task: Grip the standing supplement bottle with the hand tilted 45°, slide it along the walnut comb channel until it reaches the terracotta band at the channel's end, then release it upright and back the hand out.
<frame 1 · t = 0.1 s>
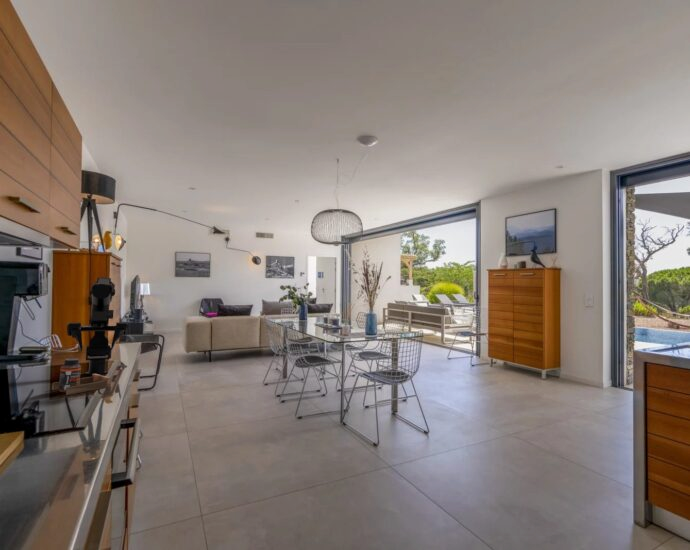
hand: (96, 350, 132), 15 cm above the counter, tool tilted 35°, fingers open, 9 cm apart
supplement bottle: (68, 391, 131), on the counter
comb channel: (79, 388, 134), on the counter
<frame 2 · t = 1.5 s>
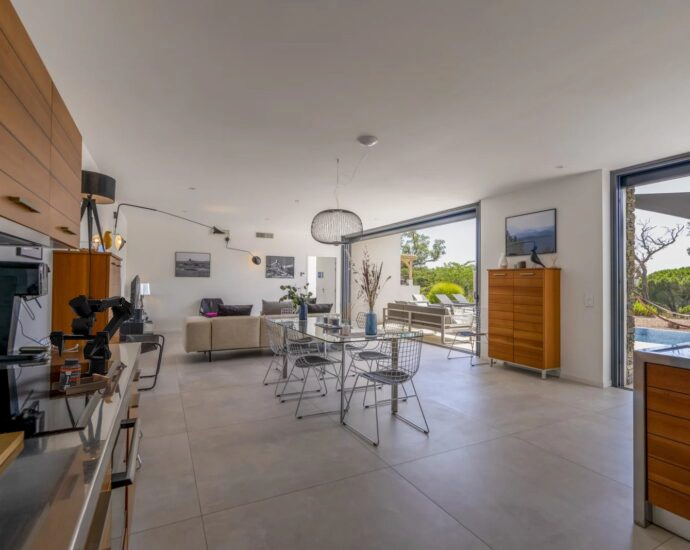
hand: (74, 356, 136), 12 cm above the counter, tool tilted 45°, fingers open, 9 cm apart
nothing on the counter moved.
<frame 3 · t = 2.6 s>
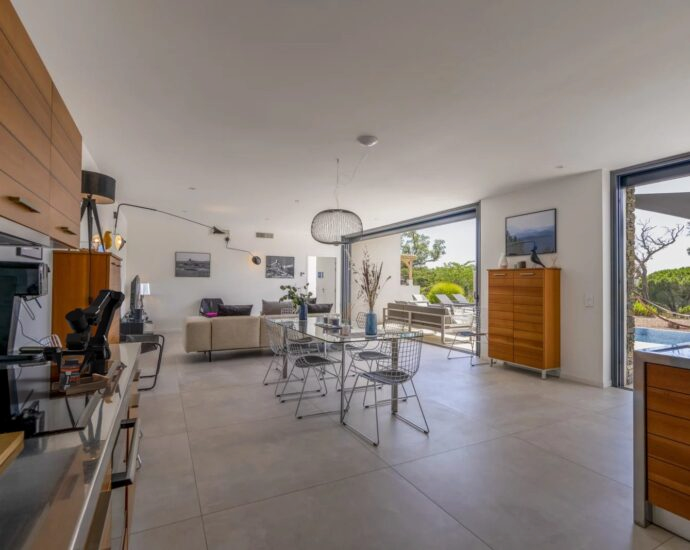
hand: (69, 373, 130), 7 cm above the counter, tool tilted 45°, fingers closed on supplement bottle, 6 cm apart
supplement bottle: (68, 391, 131), on the counter, touching gripper
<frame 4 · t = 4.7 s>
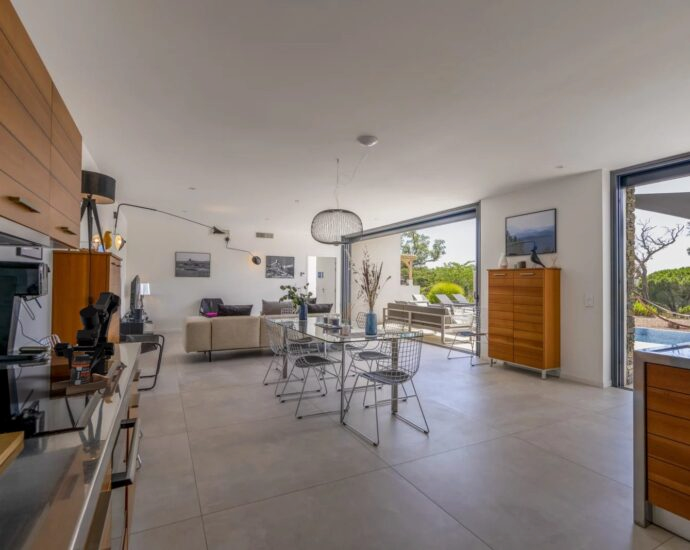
hand: (80, 368, 134), 8 cm above the counter, tool tilted 45°, fingers closed on supplement bottle, 6 cm apart
supplement bottle: (79, 386, 135), point 1 cm above the counter, touching gripper
when the fingers open (7 cm above the counter, at t = 6.6 s): supplement bottle stays where it is, on the counter.
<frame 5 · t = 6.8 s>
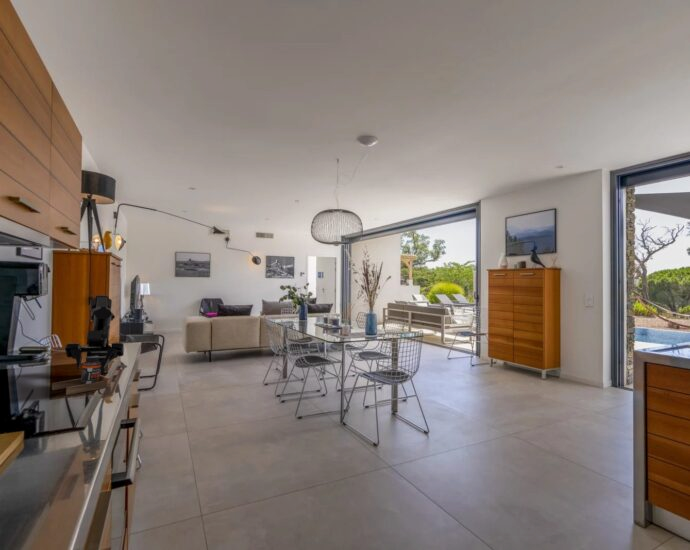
hand: (90, 368, 136), 7 cm above the counter, tool tilted 45°, fingers open, 8 cm apart
supplement bottle: (90, 387, 138), on the counter
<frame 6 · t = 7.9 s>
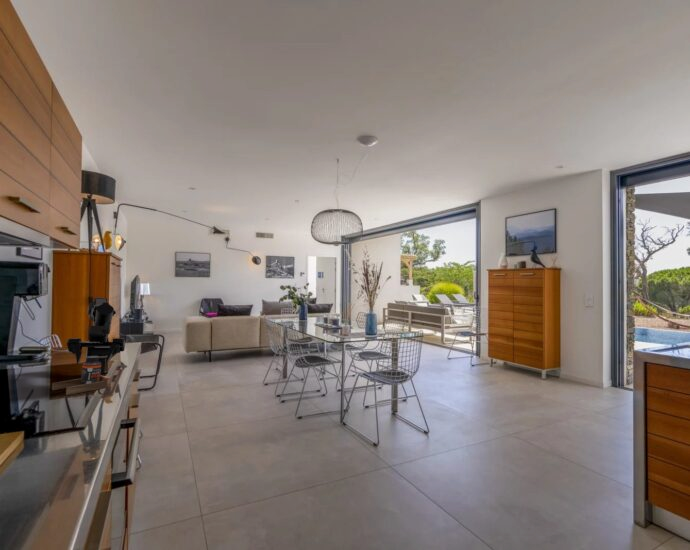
hand: (92, 363, 138), 9 cm above the counter, tool tilted 45°, fingers open, 9 cm apart
nothing on the counter moved.
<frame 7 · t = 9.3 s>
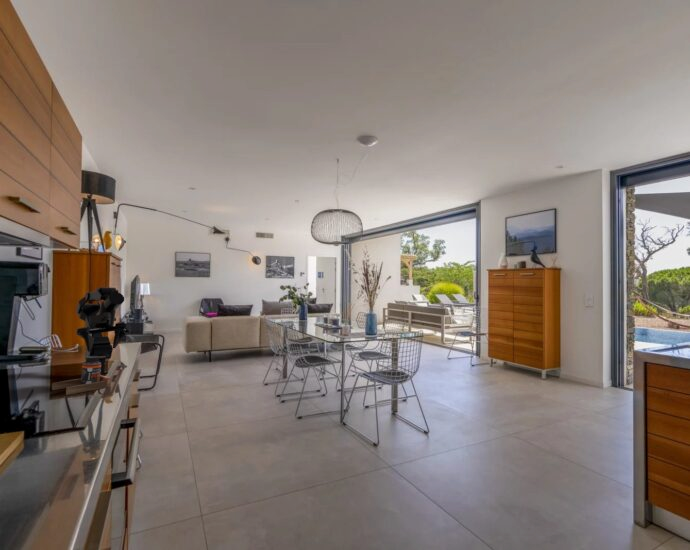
hand: (101, 349, 145), 13 cm above the counter, tool tilted 30°, fingers open, 9 cm apart
nothing on the counter moved.
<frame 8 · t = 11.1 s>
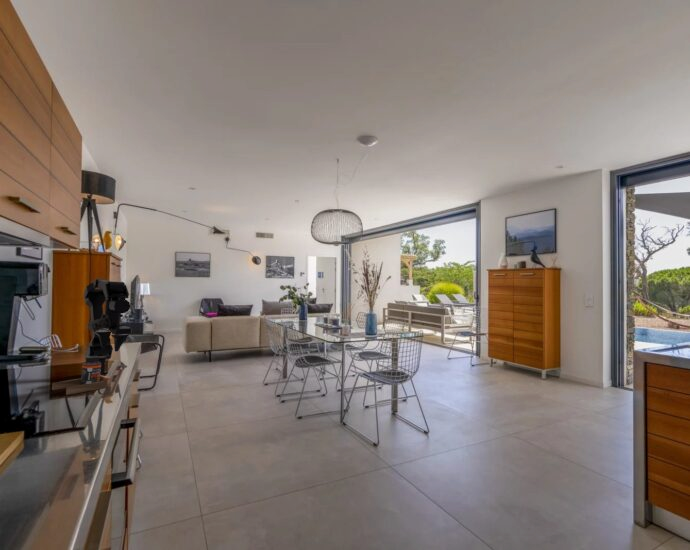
hand: (109, 350, 149), 12 cm above the counter, tool pointing down, fingers open, 9 cm apart
nothing on the counter moved.
at the end: supplement bottle 0.2 cm from the target spot, on the counter; supplement bottle tilted 0°; the gripper is holding nothing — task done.
